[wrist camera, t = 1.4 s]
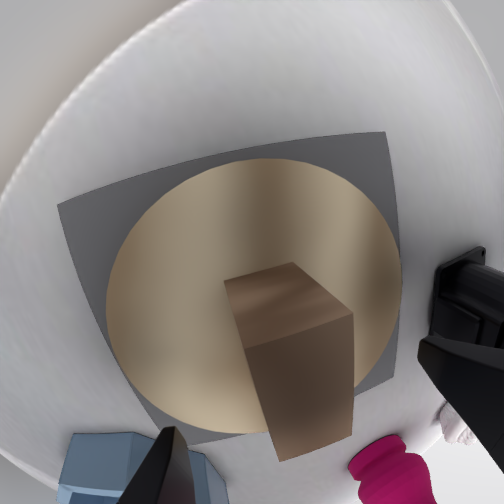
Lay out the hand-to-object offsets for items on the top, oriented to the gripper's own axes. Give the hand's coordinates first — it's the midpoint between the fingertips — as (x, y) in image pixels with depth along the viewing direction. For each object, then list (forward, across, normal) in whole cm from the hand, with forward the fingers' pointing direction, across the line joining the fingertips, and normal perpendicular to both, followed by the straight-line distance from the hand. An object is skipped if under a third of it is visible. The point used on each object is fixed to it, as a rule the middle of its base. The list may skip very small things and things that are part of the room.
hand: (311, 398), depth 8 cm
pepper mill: (+6, -8, +21) cm, 23 cm away
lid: (+6, 0, 0) cm, 6 cm away
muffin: (+6, -19, +21) cm, 29 cm away
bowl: (+6, +13, +13) cm, 19 cm away
